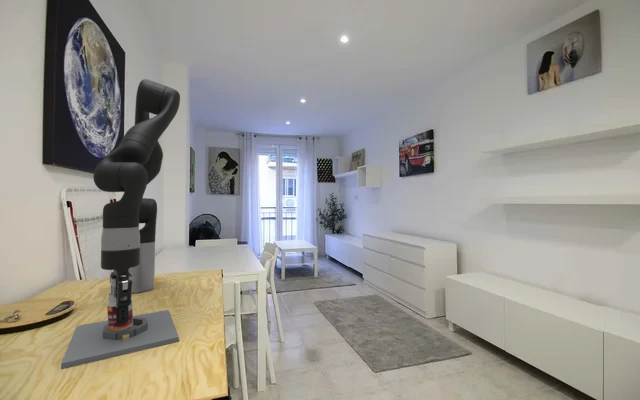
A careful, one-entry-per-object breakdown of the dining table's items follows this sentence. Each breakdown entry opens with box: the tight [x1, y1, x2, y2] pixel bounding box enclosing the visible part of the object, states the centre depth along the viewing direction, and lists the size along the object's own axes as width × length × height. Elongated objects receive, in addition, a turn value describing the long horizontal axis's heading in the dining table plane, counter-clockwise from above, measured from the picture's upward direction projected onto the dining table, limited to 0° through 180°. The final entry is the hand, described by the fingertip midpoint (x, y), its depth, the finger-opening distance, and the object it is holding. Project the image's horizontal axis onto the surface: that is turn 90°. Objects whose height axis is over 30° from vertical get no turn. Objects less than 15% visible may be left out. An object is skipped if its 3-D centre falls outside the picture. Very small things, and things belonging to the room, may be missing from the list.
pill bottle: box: [106, 292, 134, 331], centre depth 66 cm, size 5×5×8 cm
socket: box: [60, 309, 180, 369], centre depth 67 cm, size 20×20×2 cm
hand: (120, 319), depth 66 cm, fingers closed on pill bottle, 5 cm apart
